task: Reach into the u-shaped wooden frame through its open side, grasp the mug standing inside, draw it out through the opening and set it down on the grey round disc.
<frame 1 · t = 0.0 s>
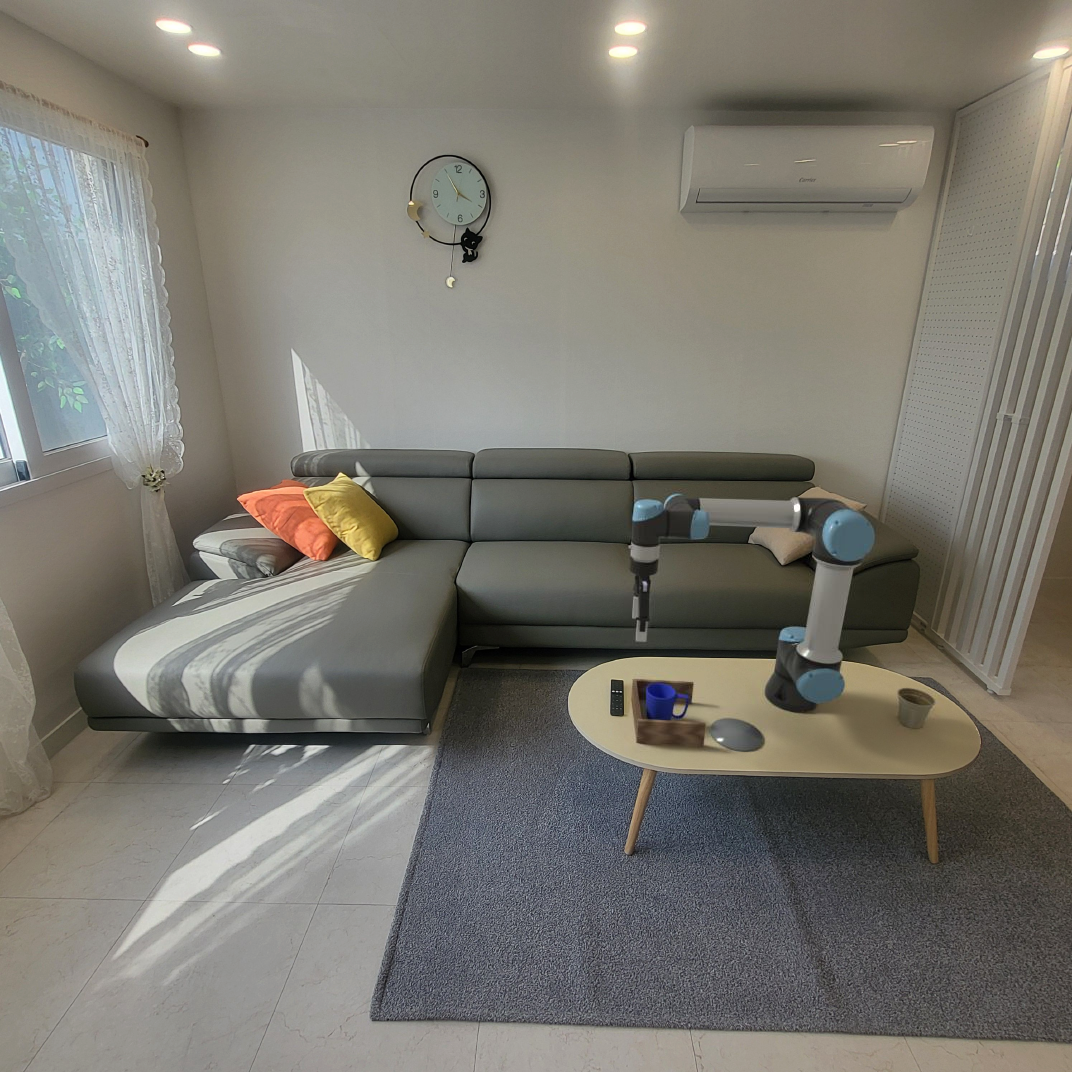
hand: (638, 629, 169), 28 cm above the table, fingers open, 13 cm apart
mug: (665, 721, 176), on the table
grey round disc: (735, 735, 170), on the table
u-shaped wooden frame: (665, 721, 176), on the table
flower pot: (909, 722, 177), on the table
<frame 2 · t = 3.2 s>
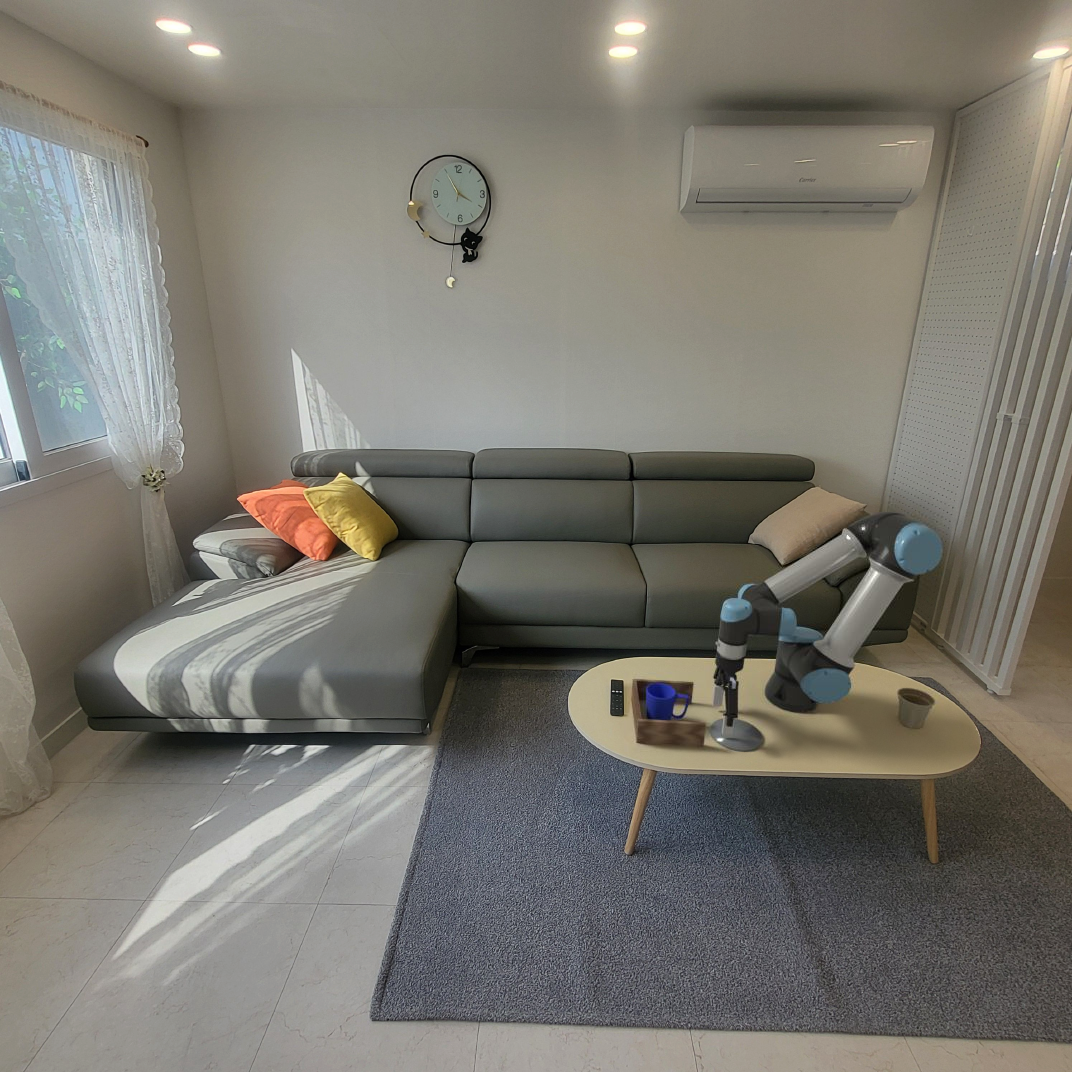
hand: (721, 719, 174), 2 cm above the table, fingers open, 13 cm apart
nothing on the table moved.
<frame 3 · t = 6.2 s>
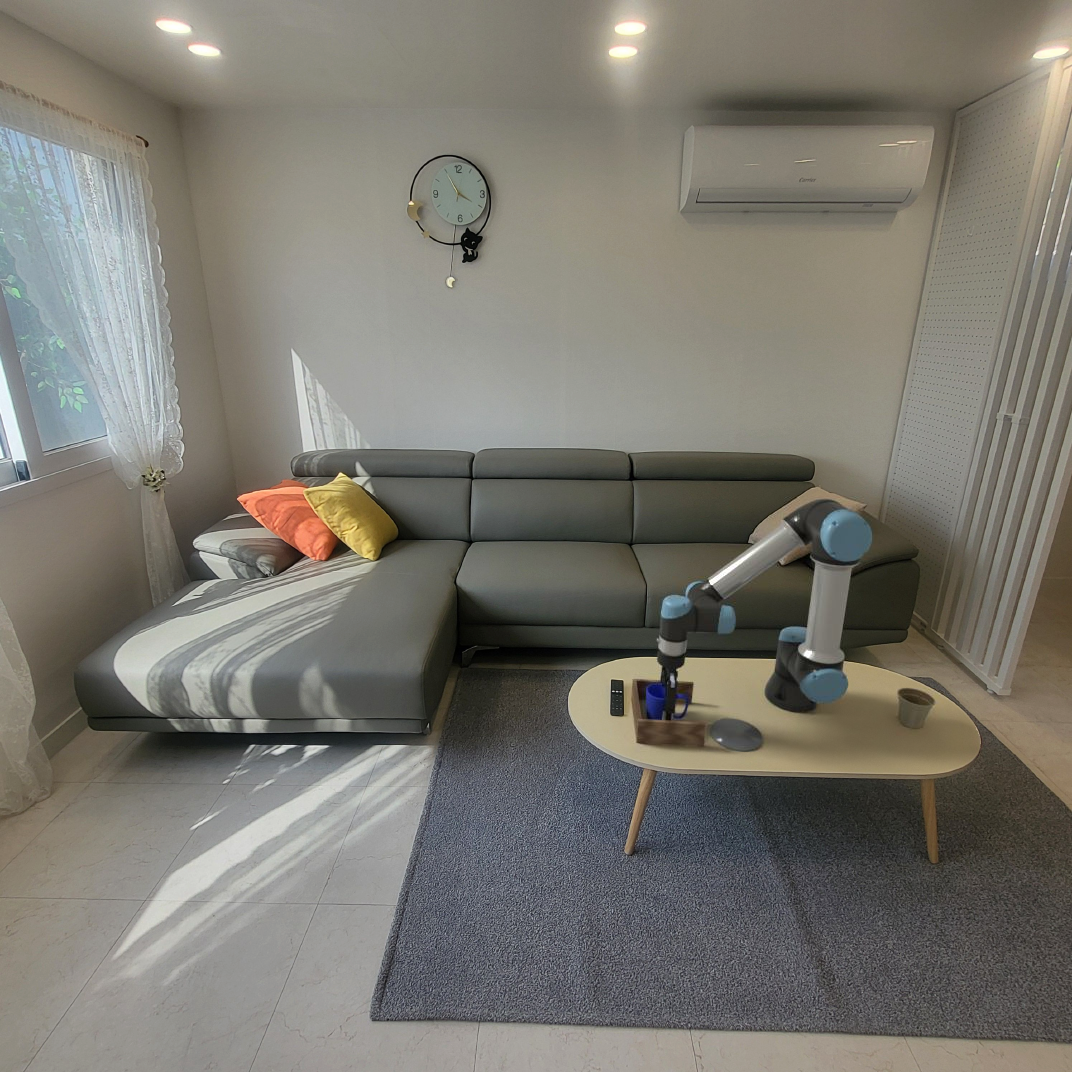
hand: (664, 720, 176), 0 cm above the table, fingers closed on mug, 7 cm apart
mug: (665, 722, 176), on the table, touching gripper
everything else where it was.
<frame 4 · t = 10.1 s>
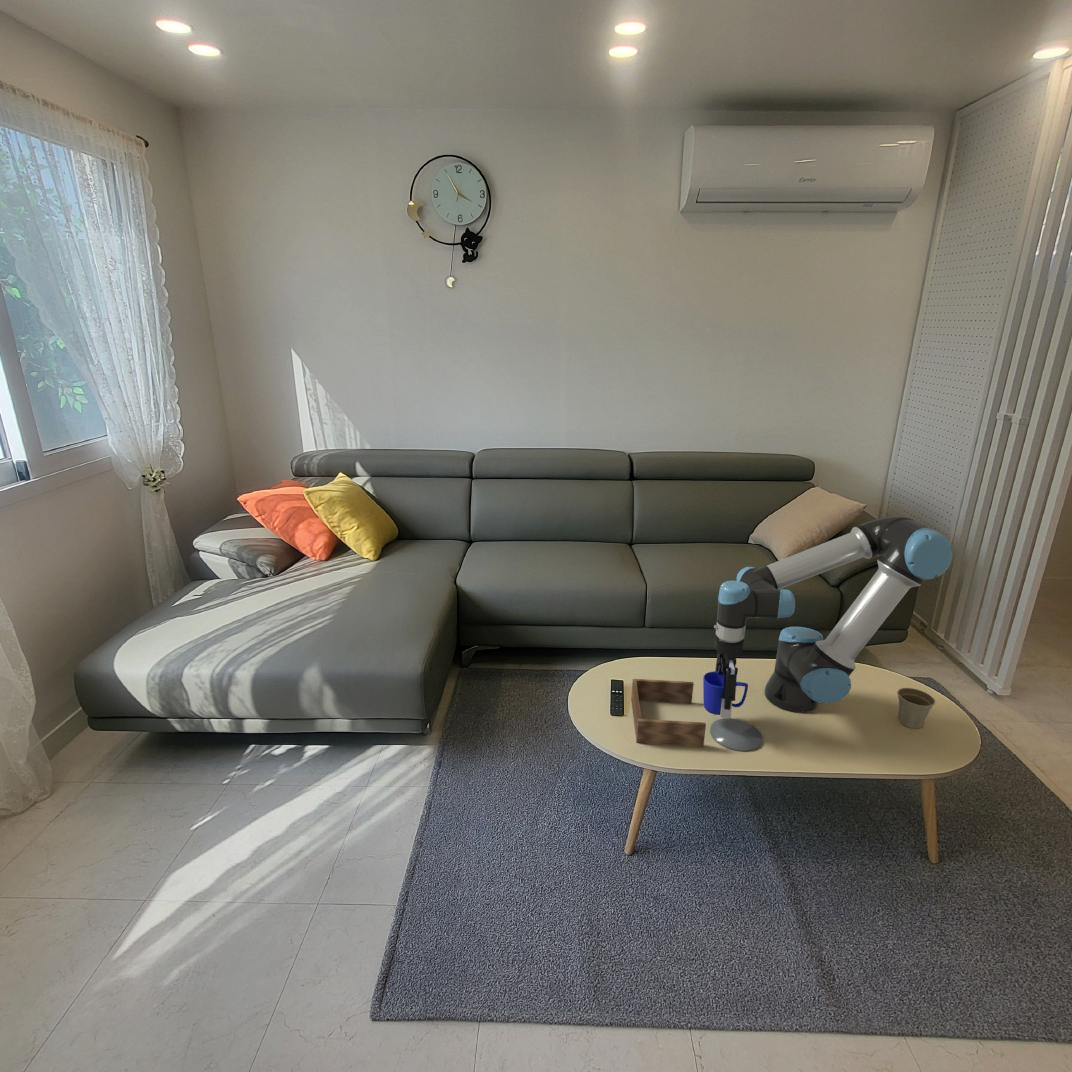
hand: (722, 708, 173), 5 cm above the table, fingers closed on mug, 7 cm apart
mug: (722, 710, 173), point 5 cm above the table, touching gripper
everything else where it was.
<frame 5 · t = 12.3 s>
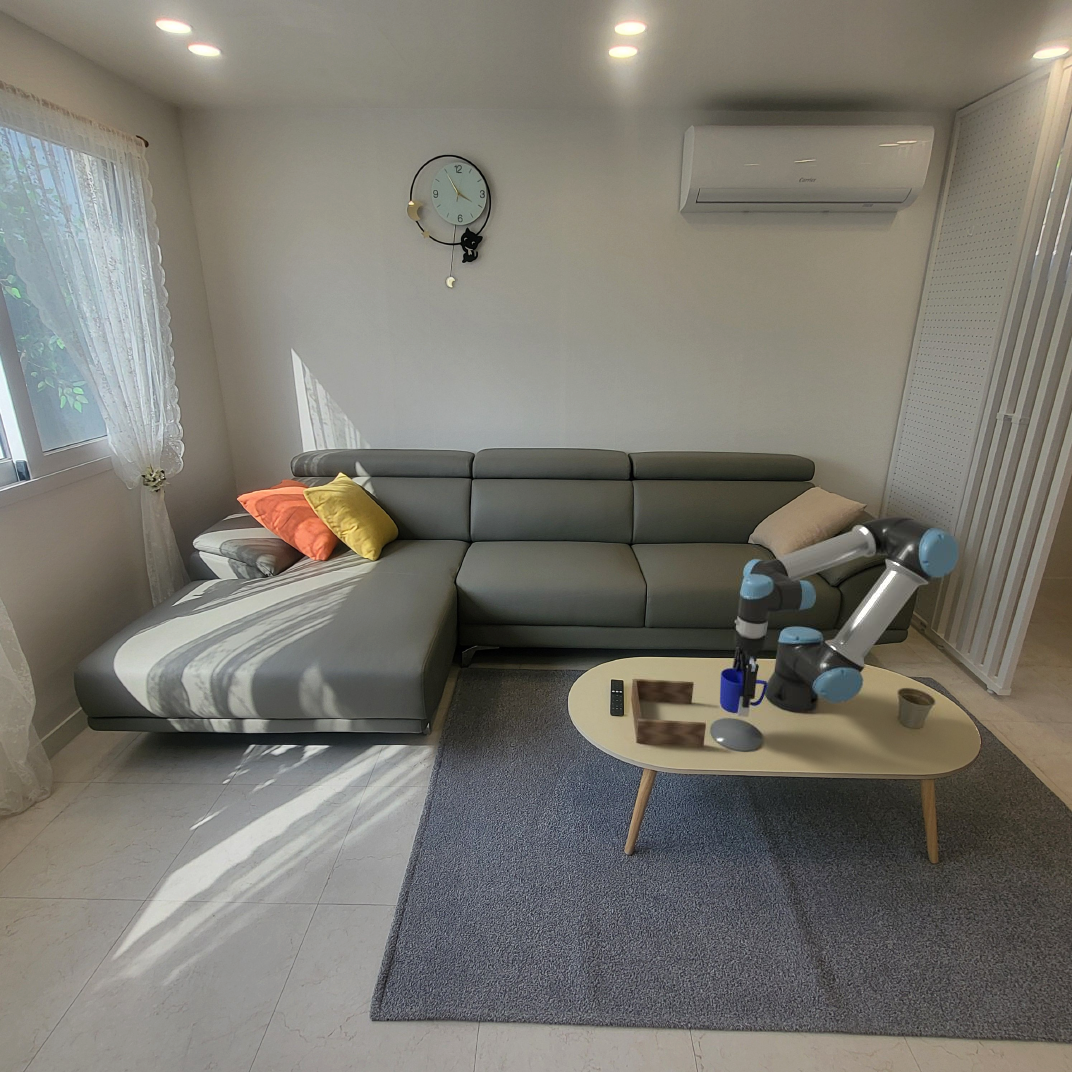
hand: (739, 707, 167), 9 cm above the table, fingers closed on mug, 7 cm apart
mug: (739, 709, 167), point 9 cm above the table, touching gripper
everything else where it was.
when the fingers open (2 cm above the table, at t = 13.9 s): mug drops 1 cm, resting on grey round disc.
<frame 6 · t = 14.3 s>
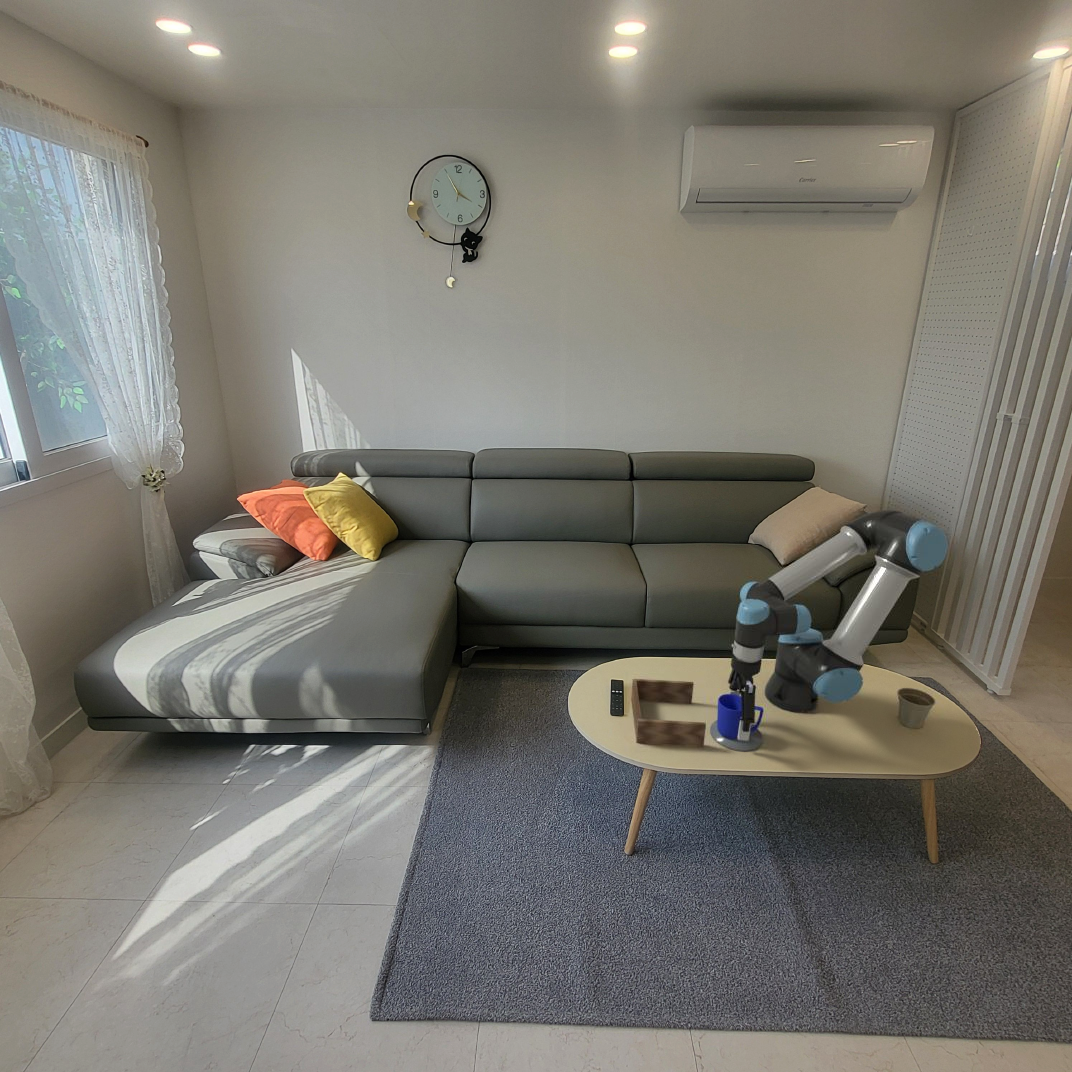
hand: (737, 724, 169), 3 cm above the table, fingers open, 12 cm apart
mug: (736, 734, 170), resting on grey round disc
everything else where it was.
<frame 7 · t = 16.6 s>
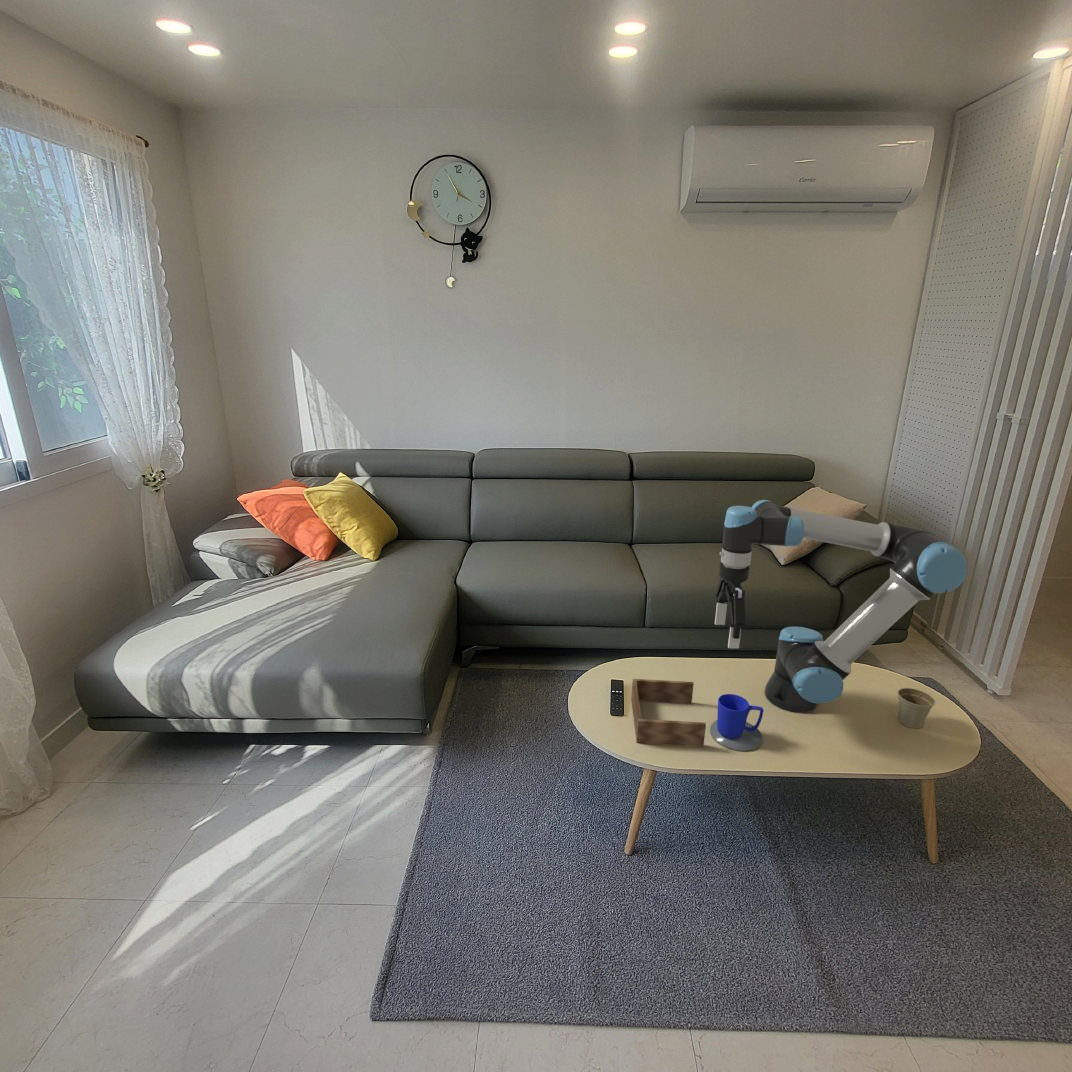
hand: (726, 635, 169), 27 cm above the table, fingers open, 13 cm apart
nothing on the table moved.
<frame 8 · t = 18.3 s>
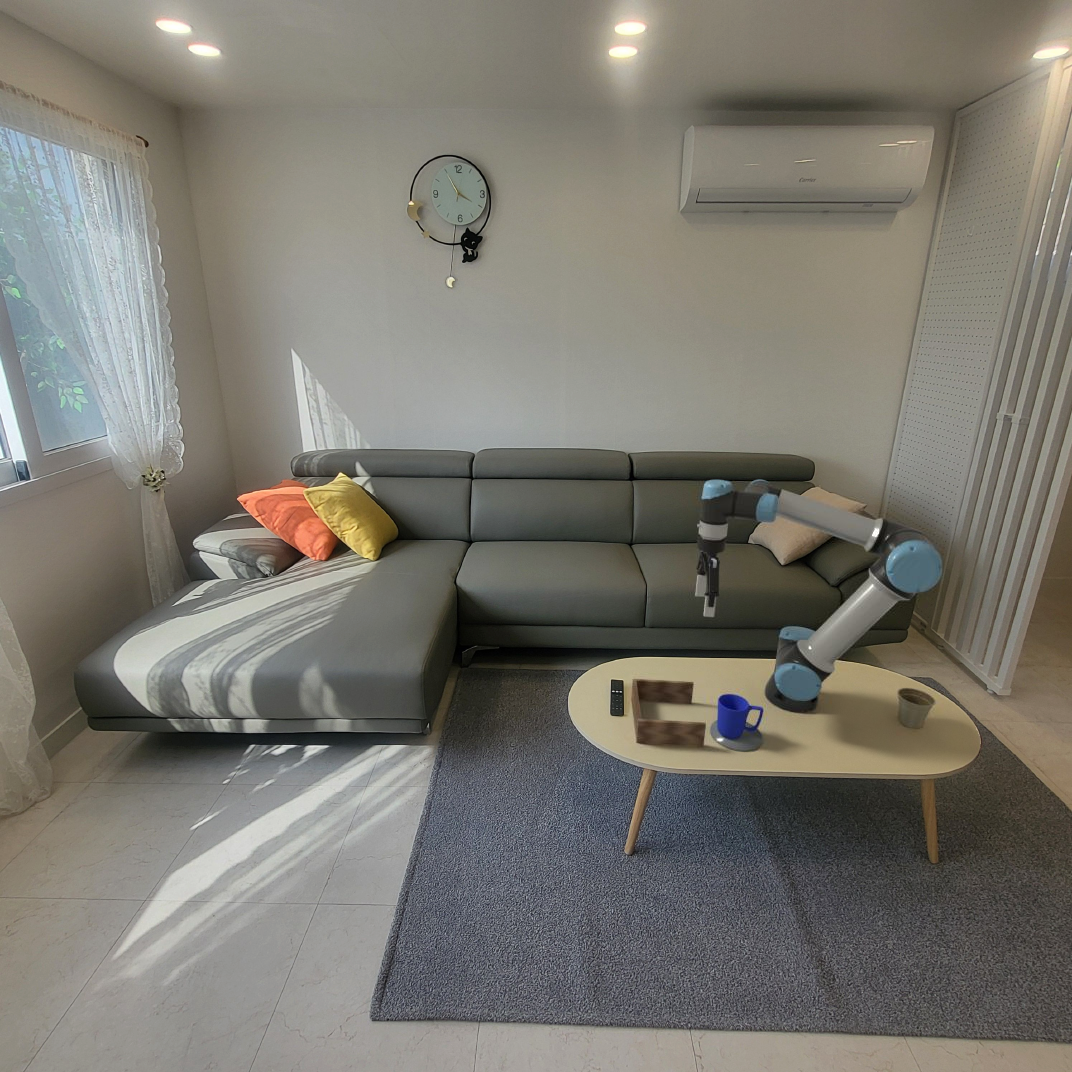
hand: (704, 605, 176), 32 cm above the table, fingers open, 13 cm apart
nothing on the table moved.
at the end: mug inside the target area on the grey round disc (0.2 cm from its centre), point 0.4 cm above the grey round disc's base; mug tilted 0°; the gripper is holding nothing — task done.
